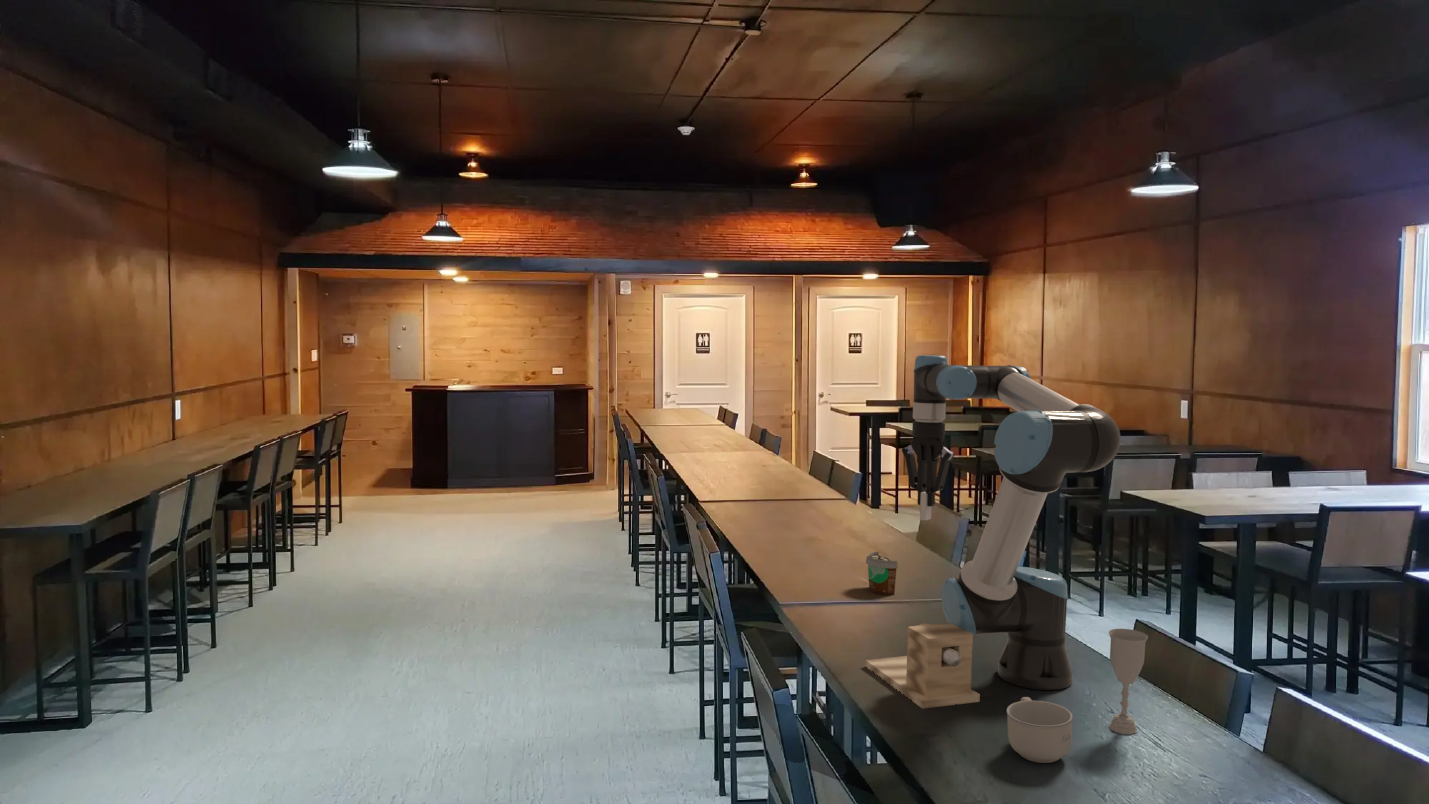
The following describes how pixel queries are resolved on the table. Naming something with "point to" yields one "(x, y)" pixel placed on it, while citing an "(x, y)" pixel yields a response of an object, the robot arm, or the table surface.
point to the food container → (881, 574)
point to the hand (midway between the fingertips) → (925, 519)
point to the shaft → (949, 654)
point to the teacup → (1039, 730)
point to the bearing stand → (931, 667)
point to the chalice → (1126, 671)
